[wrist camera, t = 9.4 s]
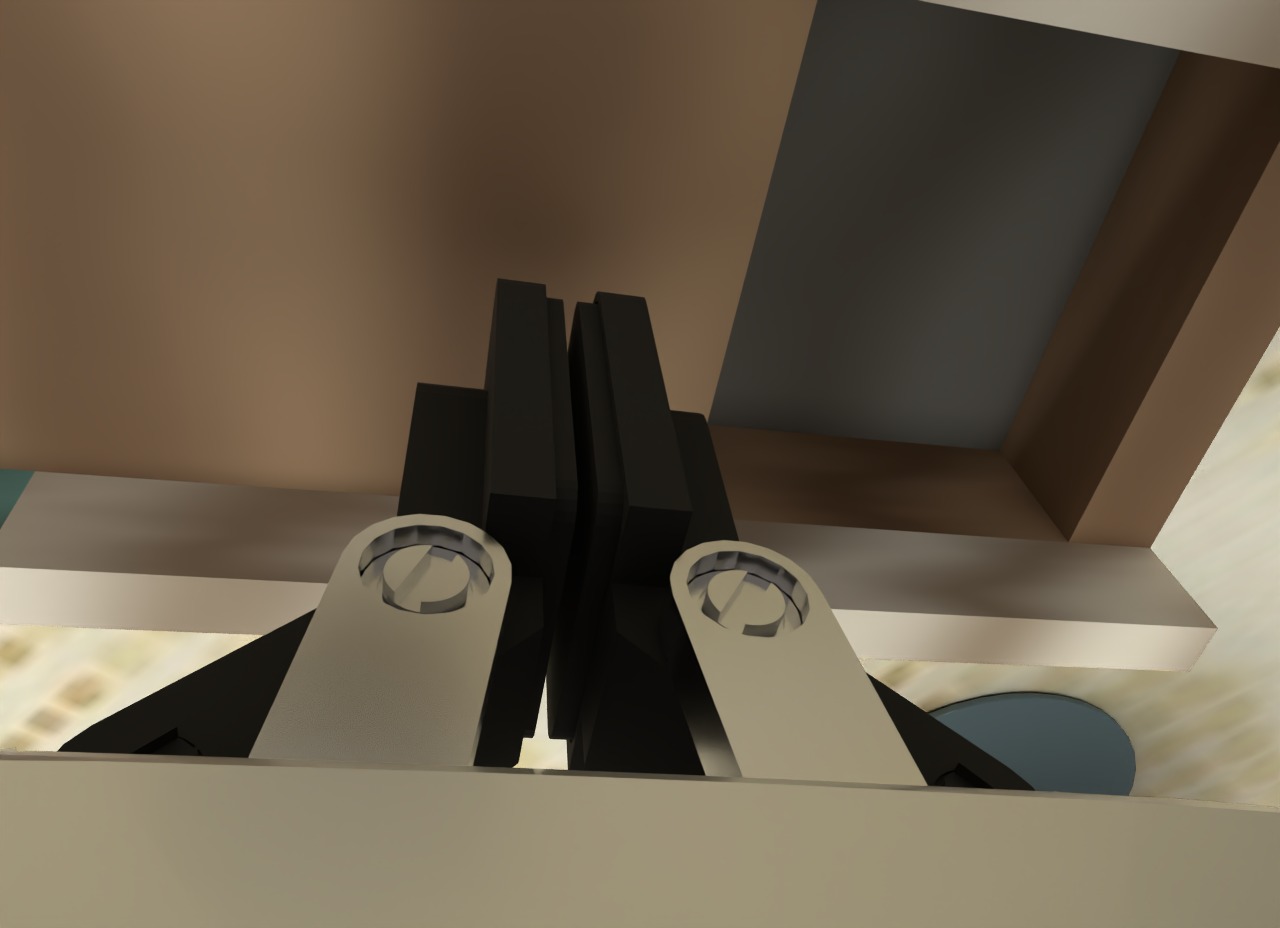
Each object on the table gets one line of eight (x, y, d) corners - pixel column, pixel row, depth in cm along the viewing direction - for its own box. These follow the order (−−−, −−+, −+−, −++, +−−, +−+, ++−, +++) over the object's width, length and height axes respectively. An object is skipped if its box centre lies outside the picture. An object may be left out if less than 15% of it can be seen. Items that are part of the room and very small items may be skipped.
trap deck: (1313, -62, 19) (1630, 10, 14) (1039, 494, 26) (1182, 682, 21) (-885, -552, 12) (-1884, -772, 7) (-460, 375, 20) (-805, 608, 14)
